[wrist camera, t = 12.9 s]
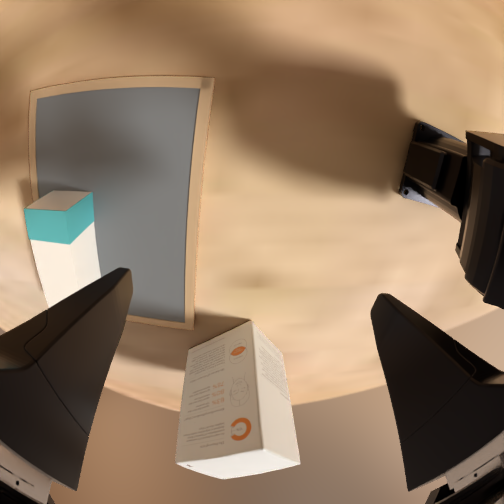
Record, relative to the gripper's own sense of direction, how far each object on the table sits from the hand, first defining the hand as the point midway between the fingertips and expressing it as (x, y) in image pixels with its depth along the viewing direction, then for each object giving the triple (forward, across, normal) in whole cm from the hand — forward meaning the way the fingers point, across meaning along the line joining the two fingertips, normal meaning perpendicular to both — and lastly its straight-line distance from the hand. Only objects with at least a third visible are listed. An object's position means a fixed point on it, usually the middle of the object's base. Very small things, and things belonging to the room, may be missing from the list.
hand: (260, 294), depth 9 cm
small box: (+12, -1, +17) cm, 21 cm away
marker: (+11, +14, +7) cm, 19 cm away
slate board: (+12, +11, +3) cm, 16 cm away
